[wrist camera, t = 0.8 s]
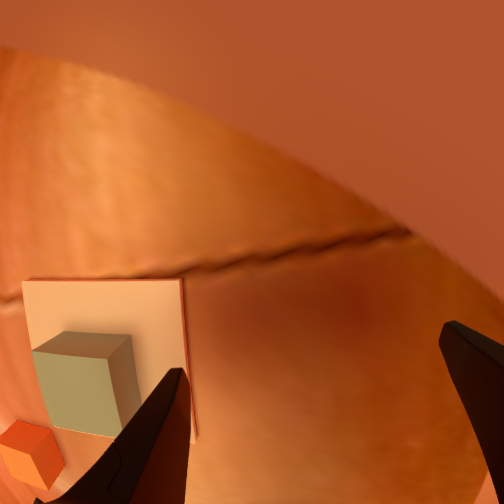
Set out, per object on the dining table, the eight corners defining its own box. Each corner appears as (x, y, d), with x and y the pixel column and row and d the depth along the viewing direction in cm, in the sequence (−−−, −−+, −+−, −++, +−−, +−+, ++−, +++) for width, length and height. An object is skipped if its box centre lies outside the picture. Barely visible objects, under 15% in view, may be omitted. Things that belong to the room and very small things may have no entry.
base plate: (197, 436, 23) (196, 443, 22) (58, 420, 22) (53, 426, 21) (181, 278, 22) (179, 280, 21) (29, 279, 22) (21, 281, 20)
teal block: (141, 403, 22) (124, 438, 17) (77, 396, 21) (52, 425, 16) (130, 334, 21) (107, 359, 16) (63, 331, 21) (31, 350, 16)
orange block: (65, 464, 23) (48, 490, 18) (31, 454, 22) (12, 477, 17) (51, 429, 22) (30, 454, 17) (17, 419, 22) (-6, 441, 17)
